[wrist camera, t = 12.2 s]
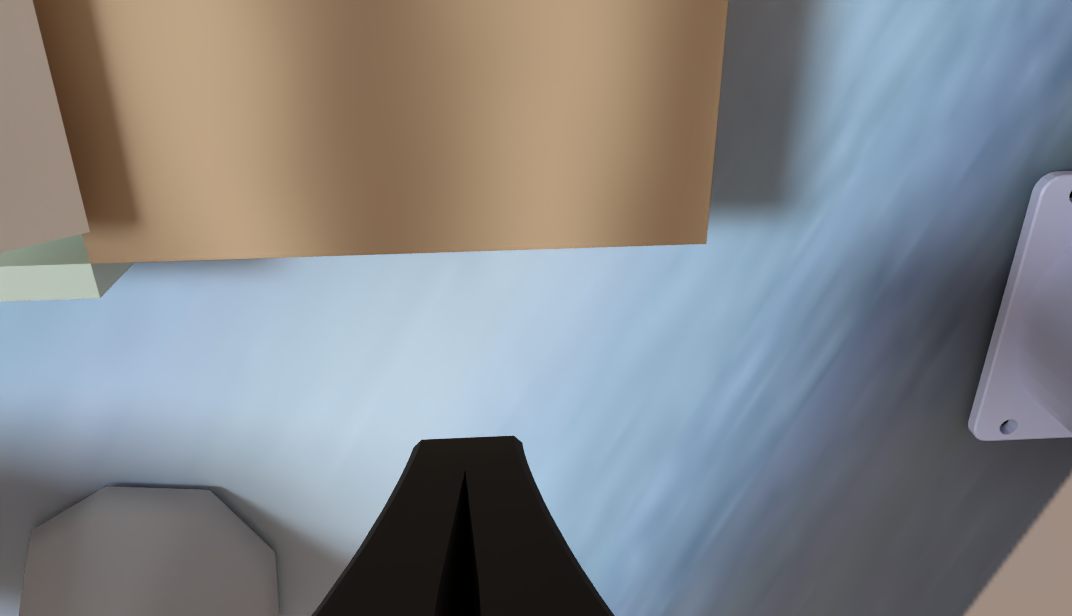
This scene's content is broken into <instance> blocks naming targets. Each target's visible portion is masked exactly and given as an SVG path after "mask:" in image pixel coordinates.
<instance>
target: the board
mask: <svg viewBox="0 0 1072 616" xmlns="http://www.w3.org/2000/svg"><path fill="white" fill-rule="evenodd" d="M33 4H34V8H35V12H36V16H37V20H38V25H39V29H40V33H41V37H42V41H43V45H44V49H45V53H46V57H47V61H48V65H49V69H50V73H51V77H52V81H53V85H54V89H55V93H56V97H57V101H58V105H59V109H60V113H61V117H62V121H63V125H64V129H65V133H66V137H67V141H68V145H69V149H70V153H71V157H72V161H73V165H74V169H75V173H76V178H77V182H78V186H79V190H80V194H81V198H82V202H83V206H84V210H85V214H86V218H87V222H88V226H89V230H90V232H88V233H83V234H82V236H83V239H84V243H85V246H86V250H87V253H88V257H89V260H90V264H96V263H127V262H157V261H188V260H219V259H250V258H281V257H312V256H343V255H374V254H405V253H436V252H466V251H497V250H528V249H559V248H590V247H621V246H652V245H683V244H706V241H707V230H708V219H709V208H710V197H711V186H712V175H713V164H714V153H715V142H716V131H717V120H718V109H719V98H720V87H721V76H722V65H723V54H724V43H725V32H726V21H727V10H728V0H33Z"/></svg>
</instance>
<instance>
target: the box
mask: <svg viewBox="0 0 1072 616" xmlns="http://www.w3.org/2000/svg"><path fill="white" fill-rule="evenodd" d="M133 263H134V262H127V263H96V264H90V260H89V257H88V253H87V250H86V246H85V243H84V239H83V236H82V234H79V235H75V236H71V237H67V238H62V239H58V240H54V241H50V242H45V243H41V244H37V245H33V246H28V247H24V248H20V249H16V250H12V251H7V252H3V253H0V302H1V301H31V300H60V299H89V298H101V297H102V296H103V295H104V294H105V293H106V291H107V290H108V289H109V288H110V287H111V286H112V285H113V284H114V283H115V282H116V281H117V280H118V279H119V278H120V277H121V276H122V275H123V274H124V273H125V272H126V271H127V270H128V269H129V268H130V267H131V265H132V264H133Z"/></svg>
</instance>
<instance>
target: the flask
mask: <svg viewBox="0 0 1072 616" xmlns="http://www.w3.org/2000/svg"><path fill="white" fill-rule="evenodd" d="M19 616H280V615H279V600H278V585H277V569H276V554H275V552H274V551H273V550H272V549H271V548H270V547H269V546H268V545H267V544H266V543H265V542H264V541H263V540H262V539H261V538H260V537H259V536H258V535H257V534H255V533H254V532H253V531H252V530H251V529H250V528H249V527H248V526H247V525H246V524H245V523H244V522H243V521H242V520H241V519H240V518H239V517H238V516H237V515H236V514H234V513H233V512H232V511H231V510H230V509H229V508H228V507H227V506H226V505H225V504H224V503H223V502H222V501H221V500H220V499H219V498H218V497H217V496H216V495H215V494H214V493H212V492H211V491H210V490H198V489H169V488H141V487H113V486H105V487H103V488H101V489H100V490H98V491H96V492H95V493H93V494H91V495H90V496H88V497H86V498H85V499H83V500H81V501H80V502H78V503H76V504H75V505H73V506H71V507H70V508H68V509H66V510H65V511H63V512H61V513H60V514H58V515H56V516H55V517H53V518H51V519H49V520H48V521H46V522H44V523H43V524H41V525H39V526H38V527H36V528H34V529H33V530H31V534H30V539H29V545H28V551H27V557H26V564H25V572H24V579H23V587H22V595H21V603H20V610H19Z"/></svg>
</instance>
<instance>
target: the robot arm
mask: <svg viewBox="0 0 1072 616" xmlns="http://www.w3.org/2000/svg"><path fill="white" fill-rule="evenodd" d="M1071 191H1072V171H1056V172H1051V173H1048V174H1047V175H1045V176H1043V177H1042V178H1041V179H1040V180H1039V181H1038V182H1037V183H1036V185H1035V187H1034V189H1033V191H1032V194H1031V198H1030V202H1029V205H1028V209H1027V212H1026V216H1025V220H1024V223H1023V227H1022V230H1021V234H1020V238H1019V241H1018V245H1017V248H1016V252H1015V256H1014V259H1013V263H1012V266H1011V270H1010V274H1009V277H1008V281H1007V284H1006V288H1005V292H1004V295H1003V299H1002V302H1001V306H1000V310H999V313H998V317H997V320H996V324H995V328H994V331H993V335H992V338H991V342H990V346H989V349H988V353H987V356H986V360H985V364H984V367H983V371H982V374H981V378H980V382H979V385H978V389H977V392H976V396H975V400H974V403H973V407H972V410H971V414H970V418H969V421H968V427H969V429H970V431H971V432H972V433H973V435H974V436H975V437H976V438H978V439H980V440H983V441H996V440H1019V439H1041V438H1063V437H1072V198H1070V199H1069V195H1070V193H1071ZM1006 420H1009V421H1008V422H1007V423H1006V424H1005V425H1003V426H1001V424H1002V423H1003V422H1005V421H1006ZM312 616H614V614H613V613H612V612H611V610H610V609H609V607H608V606H607V605H606V603H605V602H604V600H603V599H602V598H601V596H600V595H599V593H598V592H597V590H596V589H595V587H594V586H593V584H592V583H591V581H590V580H589V578H588V577H587V575H586V574H585V572H584V571H583V569H582V568H581V566H580V564H579V563H578V561H577V560H576V558H575V556H574V555H573V553H572V551H571V550H570V548H569V546H568V545H567V543H566V541H565V539H564V537H563V536H562V534H561V532H560V530H559V529H558V527H557V525H556V523H555V521H554V520H553V518H552V516H551V514H550V512H549V510H548V508H547V506H546V504H545V502H544V500H543V498H542V496H541V494H540V492H539V490H538V487H537V485H536V483H535V481H534V478H533V476H532V473H531V471H530V468H529V466H528V463H527V460H526V457H525V453H524V450H523V445H522V442H521V441H519V440H518V439H517V438H516V437H515V436H498V437H474V438H451V439H428V440H421V441H420V442H419V443H418V444H417V445H416V446H415V447H414V448H413V451H412V453H411V456H410V458H409V460H408V462H407V465H406V467H405V469H404V471H403V473H402V475H401V477H400V479H399V481H398V483H397V485H396V487H395V489H394V490H393V492H392V494H391V496H390V498H389V499H388V501H387V503H386V505H385V507H384V508H383V510H382V512H381V513H380V515H379V517H378V518H377V520H376V522H375V523H374V525H373V527H372V528H371V530H370V531H369V533H368V535H367V536H366V538H365V540H364V541H363V543H362V545H361V546H360V548H359V549H358V551H357V552H356V554H355V555H354V557H353V558H352V560H351V561H350V563H349V564H348V566H347V567H346V568H345V570H344V571H343V573H342V574H341V576H340V577H339V578H338V580H337V581H336V583H335V584H334V586H333V587H332V588H331V590H330V591H329V593H328V594H327V595H326V597H325V598H324V600H323V601H322V603H321V604H320V605H319V607H318V608H317V609H316V611H315V612H314V613H313V614H312Z"/></svg>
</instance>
